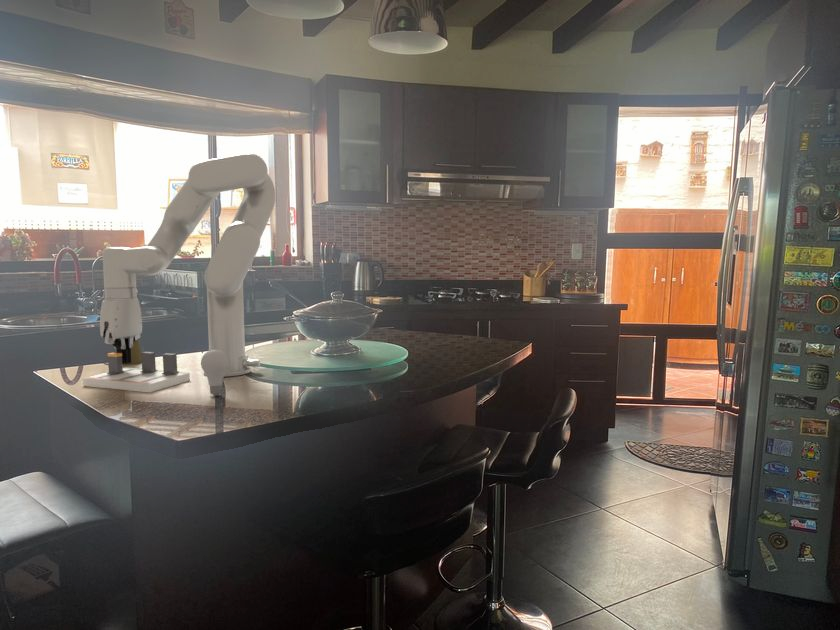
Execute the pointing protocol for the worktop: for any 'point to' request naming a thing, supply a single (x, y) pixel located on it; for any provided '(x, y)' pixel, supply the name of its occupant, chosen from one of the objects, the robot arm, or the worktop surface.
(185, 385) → the worktop surface
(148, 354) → the breaker
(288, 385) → the worktop surface
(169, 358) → the breaker
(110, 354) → the breaker
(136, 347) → the cork
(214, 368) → the lightbulb
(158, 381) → the breaker panel
